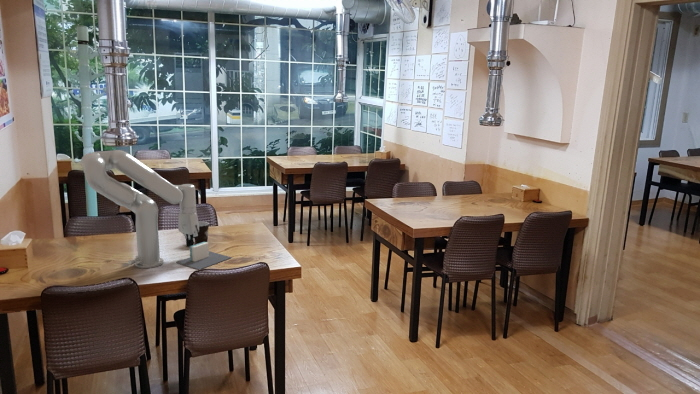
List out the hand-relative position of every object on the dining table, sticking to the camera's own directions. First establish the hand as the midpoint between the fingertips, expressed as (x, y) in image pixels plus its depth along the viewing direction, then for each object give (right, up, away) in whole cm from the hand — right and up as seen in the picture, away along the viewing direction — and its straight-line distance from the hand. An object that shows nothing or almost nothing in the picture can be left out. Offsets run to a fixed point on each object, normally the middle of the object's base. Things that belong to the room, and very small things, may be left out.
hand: (190, 246), depth 253 cm
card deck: (+6, -6, -3) cm, 8 cm away
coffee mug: (0, 0, +24) cm, 24 cm away
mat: (+8, -6, -4) cm, 11 cm away
